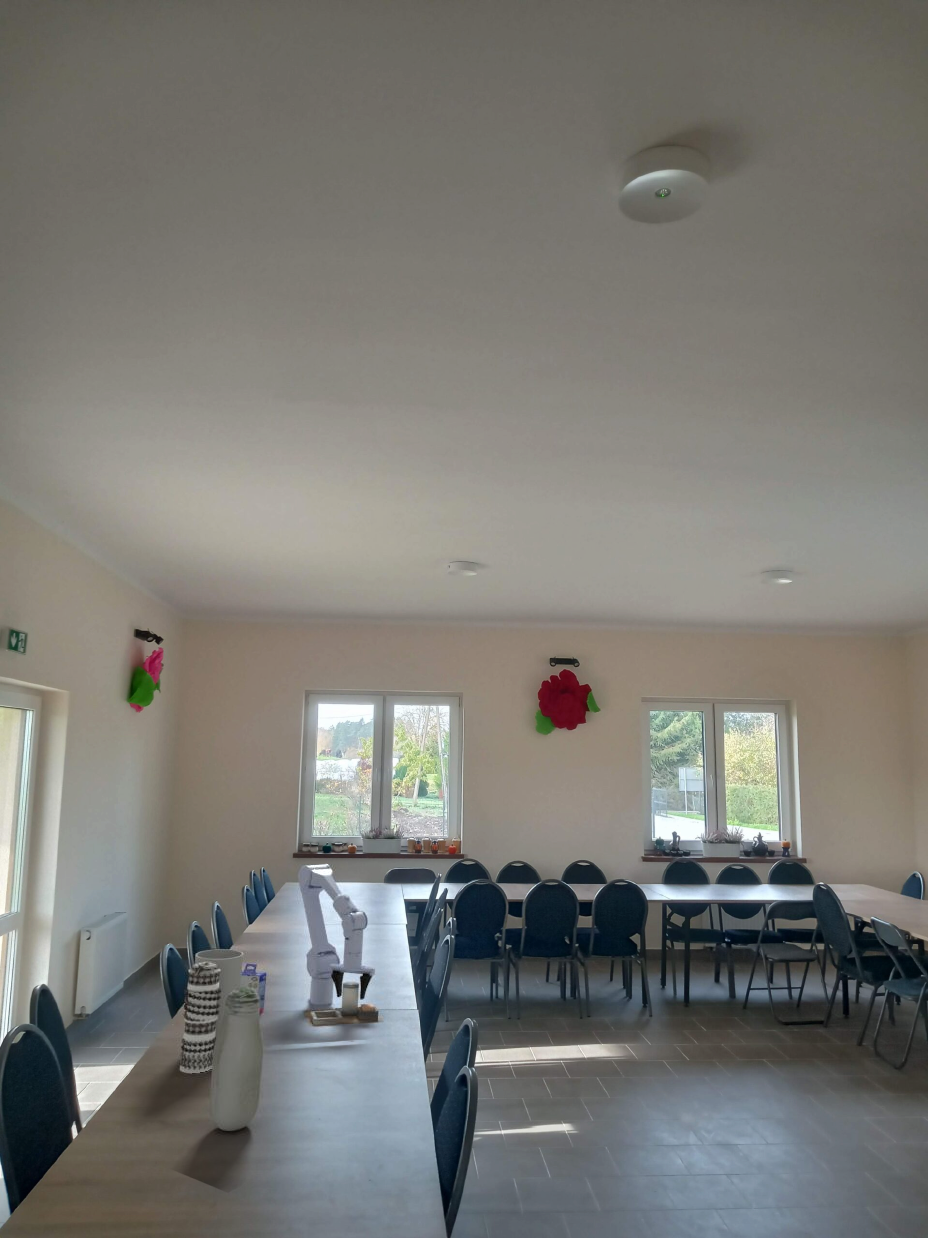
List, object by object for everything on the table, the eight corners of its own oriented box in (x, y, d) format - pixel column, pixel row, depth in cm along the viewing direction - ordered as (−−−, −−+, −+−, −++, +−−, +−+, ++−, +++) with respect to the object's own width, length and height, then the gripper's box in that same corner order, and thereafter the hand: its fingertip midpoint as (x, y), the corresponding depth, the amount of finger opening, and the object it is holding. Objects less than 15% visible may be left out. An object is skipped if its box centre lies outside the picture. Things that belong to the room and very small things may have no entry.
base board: (302, 1014, 265) (303, 1002, 265) (372, 1010, 271) (373, 999, 272) (309, 1029, 250) (310, 1017, 250) (383, 1025, 256) (383, 1013, 257)
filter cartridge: (338, 1012, 264) (340, 985, 265) (345, 1008, 268) (347, 981, 270) (353, 1014, 262) (355, 986, 264) (360, 1010, 267) (361, 983, 268)
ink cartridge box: (264, 1013, 264) (268, 964, 267) (257, 1018, 259) (260, 968, 261) (235, 1011, 266) (238, 962, 269) (227, 1015, 261) (230, 966, 263)
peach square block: (360, 1014, 261) (360, 1004, 262) (371, 1014, 262) (372, 1004, 263) (362, 1018, 258) (363, 1007, 258) (374, 1017, 259) (374, 1007, 259)
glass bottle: (232, 1142, 174) (242, 997, 179) (198, 1130, 180) (209, 989, 185) (267, 1126, 183) (276, 988, 188) (233, 1114, 188) (243, 980, 193)
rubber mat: (335, 1009, 268) (335, 1008, 268) (360, 1008, 270) (360, 1007, 270) (339, 1016, 260) (339, 1015, 260) (365, 1015, 263) (365, 1014, 263)
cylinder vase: (245, 1049, 231) (252, 952, 235) (217, 1063, 220) (225, 961, 224) (206, 1043, 235) (213, 947, 240) (177, 1056, 224) (185, 956, 228)
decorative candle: (181, 1076, 210) (190, 969, 214) (174, 1064, 218) (183, 961, 222) (218, 1071, 214) (226, 966, 218) (211, 1060, 222) (219, 959, 226)
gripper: (379, 951, 270) (377, 996, 268) (336, 947, 274) (334, 992, 272) (371, 956, 264) (369, 1002, 261) (327, 952, 267) (325, 998, 265)
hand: (350, 997), depth 266 cm, fingers open, 7 cm apart
